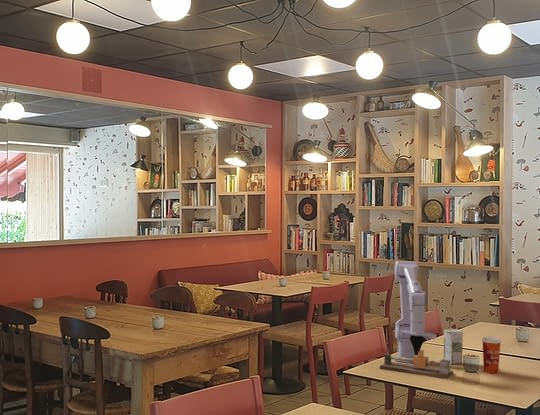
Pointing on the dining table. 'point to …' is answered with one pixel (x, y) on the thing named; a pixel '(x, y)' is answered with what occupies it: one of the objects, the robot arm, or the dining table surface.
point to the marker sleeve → (420, 360)
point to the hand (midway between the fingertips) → (416, 354)
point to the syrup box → (453, 345)
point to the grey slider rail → (407, 368)
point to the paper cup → (491, 354)
